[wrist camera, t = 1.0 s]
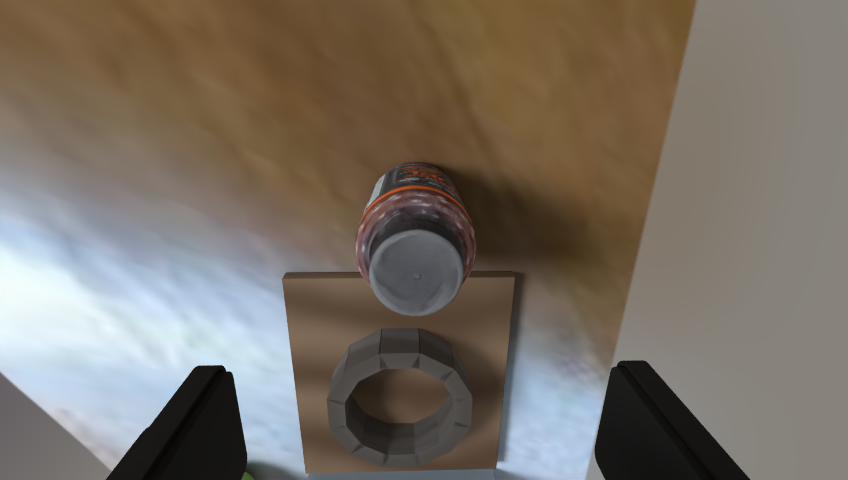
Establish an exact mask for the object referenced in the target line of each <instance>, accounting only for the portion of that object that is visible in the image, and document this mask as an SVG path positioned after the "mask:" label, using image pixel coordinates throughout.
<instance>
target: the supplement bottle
mask: <svg viewBox="0 0 848 480" xmlns="http://www.w3.org/2000/svg"><path fill="white" fill-rule="evenodd" d="M476 247H477V243H476V236H475V231H474V227H473V225H472V223H471V220H470V217H469V215H468V213H467V211H466V209H465V207H464V204H463V202H462V200H461V197H460V195H459V193H458V191H457V188H456V187H455V185H454V184H453V182H452V181H451V179H450V178H449V177H448V176H447V175H446V174H445V173H444V172H442V171H441V170H440V169H438V168H436V167H434V166H432V165H430V164H427V163H421V162H408V163H403V164H400V165H397V166H394V167H393V168H391V169H389V170H388V171H387V172H386V173H384V174H383V175H382V176H381V177H380V179H379V180H378V181H377V183H376V184H375V186H374V188H373V190H372V192H371V195H370V198H369V200H368V203H367V206H366V208H365V211H364V213H363V216H362V218H361V221H360V224H359V227H358V230H357V234H356V240H355V255H356V261H357V265H358V268H359V270H360V272H361V274H362V276H363V278H364V279H365V281H366V282H367V284H368V285H369V286H370V287H371V288H372V289H373V291H374V293H375V295H376V296H377V298H378V299H379V300H380V301H381V302H382V304H384V305H385V306H386V307H387V308H389V309H391V310H392V311H394V312H397V313H399V314H402V315H408V316H424V315H429V314H432V313H436V312H438V311H439V310H441V309H443V308H444V307H446V306H447V305H448V304H450V303H451V302H452V301H453V300H454V298H455V297H456V296H457V294H458V292H459V290H460V288H461V286H462V284H463V283H464V282H465V281H466V279H467V278H468V276H469V274H470V272H471V270H472V268H473V265H474V262H475V258H476Z"/></svg>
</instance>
